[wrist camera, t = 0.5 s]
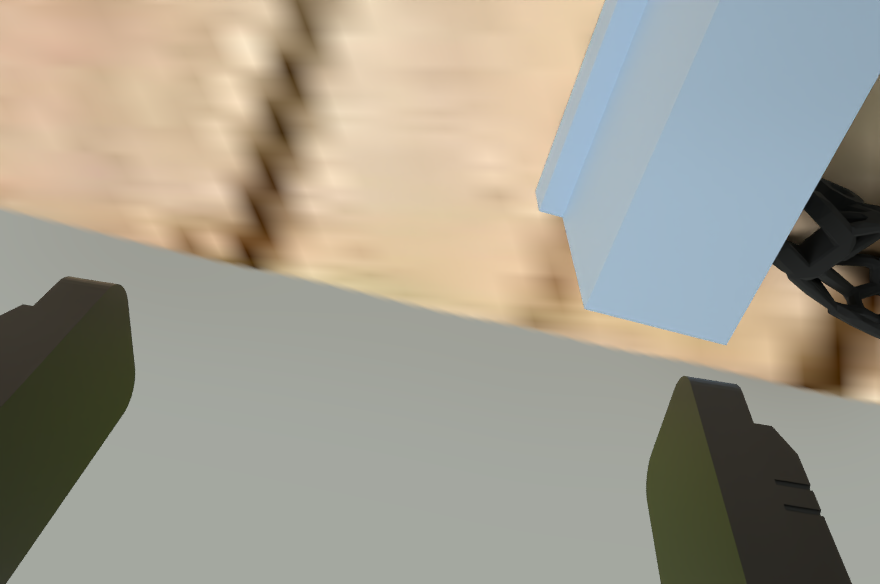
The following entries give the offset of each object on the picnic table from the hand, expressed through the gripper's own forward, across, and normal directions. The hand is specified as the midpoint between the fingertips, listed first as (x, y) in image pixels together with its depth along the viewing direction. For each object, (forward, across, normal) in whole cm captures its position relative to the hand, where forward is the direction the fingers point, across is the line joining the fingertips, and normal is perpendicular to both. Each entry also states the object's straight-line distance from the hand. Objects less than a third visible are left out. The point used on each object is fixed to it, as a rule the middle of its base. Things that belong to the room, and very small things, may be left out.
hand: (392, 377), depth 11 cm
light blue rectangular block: (+22, -8, 0) cm, 24 cm away
